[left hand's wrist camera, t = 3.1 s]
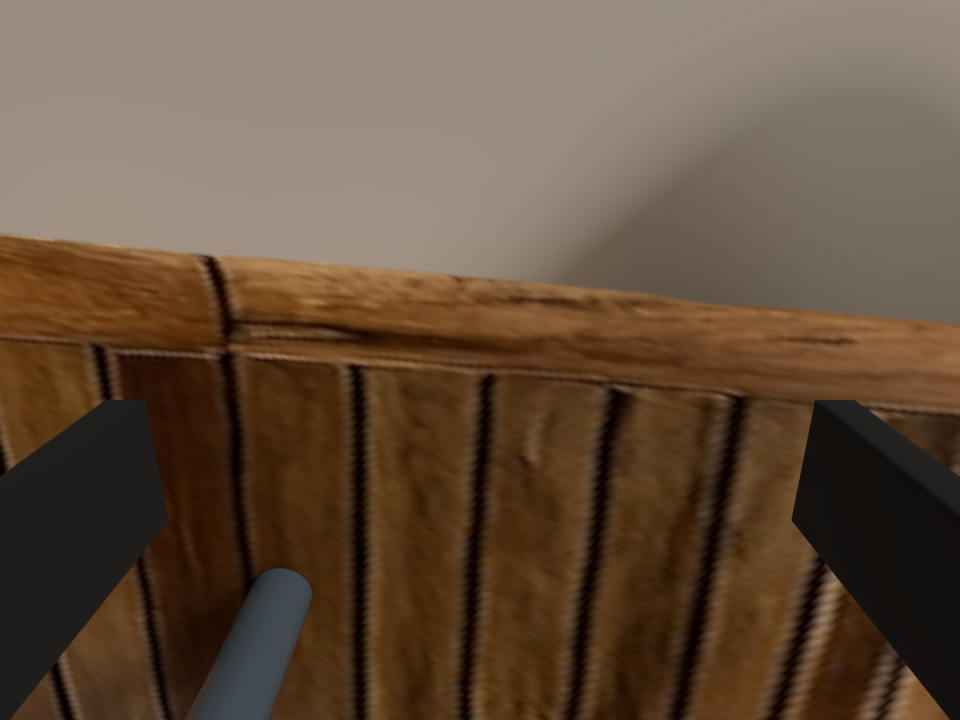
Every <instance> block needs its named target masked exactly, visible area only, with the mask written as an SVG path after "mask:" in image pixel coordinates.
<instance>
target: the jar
mask: <svg viewBox="0 0 960 720" xmlns="http://www.w3.org/2000/svg"><path fill="white" fill-rule="evenodd" d="M311 601H312V589H311V587H310V585H309V583H308V582H307V580H306V579H305V578H304V577H303V576H301V575H300V574H298V573H297V572H295V571H292V570H289V569H284V568H275V569H270V570H267V571H265V572H263V573H261V574H260V575H259V576H258V577H257V578H256V579H255V581H254V583H253V585H252V587H251V589H250V591H249V593H248V595H247V597H246V599H245V601H244V603H243V605H242V607H241V609H240V611H239V613H238V615H237V617H236V619H235V621H234V623H233V625H232V627H231V629H230V631H229V633H228V635H227V637H226V639H225V641H224V643H223V645H222V647H221V649H220V651H219V653H218V655H217V657H216V659H215V661H214V663H213V665H212V667H211V669H210V671H209V673H208V675H207V677H206V679H205V681H204V683H203V685H202V687H201V689H200V691H199V693H198V695H197V697H196V699H195V701H194V703H193V705H192V707H191V709H190V711H189V713H188V715H187V717H186V719H185V720H269V719H270V716H271V713H272V711H273V708H274V705H275V702H276V699H277V697H278V694H279V691H280V688H281V685H282V683H283V680H284V677H285V674H286V671H287V669H288V666H289V663H290V660H291V657H292V655H293V652H294V649H295V646H296V643H297V641H298V638H299V635H300V632H301V629H302V627H303V624H304V621H305V618H306V615H307V613H308V610H309V607H310V604H311Z"/></svg>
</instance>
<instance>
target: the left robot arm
mask: <svg viewBox="0 0 960 720" xmlns="http://www.w3.org/2000/svg"><path fill="white" fill-rule="evenodd" d="M167 522H168V515H167V510H166V505H165V500H164V495H163V490H162V485H161V480H160V474H159V469H158V464H157V459H156V454H155V449H154V444H153V439H152V434H151V429H150V424H149V419H148V414H147V409H146V404H145V400H105V401H104V402H102V403H101V404H100V405H98V406H97V407H96V408H94V409H93V410H91V411H90V412H89V413H87V414H86V415H84V416H83V417H82V418H80V419H79V420H78V421H76V422H75V423H73V424H72V425H71V426H69V427H68V428H67V429H65V430H64V431H62V432H61V433H60V434H58V435H57V436H55V437H54V438H53V439H51V440H50V441H49V442H47V443H46V444H44V445H43V446H42V447H40V448H39V449H38V450H36V451H35V452H33V453H32V454H31V455H29V456H28V457H26V458H25V459H24V460H22V461H21V462H20V463H18V464H17V465H15V466H14V467H13V468H11V469H10V470H9V471H7V472H6V473H4V474H3V475H2V476H0V720H10V719H11V718H12V716H13V715H14V714H15V712H16V711H17V710H18V709H19V707H20V706H21V705H22V704H23V702H24V701H25V700H26V699H27V697H28V696H29V695H30V694H31V692H32V691H33V690H34V689H35V687H36V686H37V685H38V684H39V682H40V681H41V680H42V679H43V677H44V676H45V675H46V674H47V672H48V671H49V670H50V669H51V667H52V666H53V665H54V664H55V662H56V661H57V660H58V658H59V657H60V656H61V655H62V653H63V652H64V651H65V650H66V648H67V647H68V646H69V645H70V643H71V642H72V641H73V640H74V638H75V637H76V636H77V635H78V633H79V632H80V631H81V630H82V628H83V627H84V626H85V625H86V623H87V622H88V621H89V620H90V618H91V617H92V616H93V615H94V613H95V612H96V611H97V609H98V608H99V607H100V606H101V604H102V603H103V602H104V601H105V599H106V598H107V597H108V596H109V594H110V593H111V592H112V591H113V589H114V588H115V587H116V586H117V584H118V583H119V582H120V581H121V579H122V578H123V577H124V576H125V574H126V573H127V572H128V571H129V569H130V568H131V567H132V566H133V564H134V563H135V562H136V561H137V559H138V558H139V557H140V555H141V554H142V553H143V552H144V550H145V549H146V548H147V547H148V545H149V544H150V543H151V542H152V540H153V539H154V538H155V537H156V535H157V534H158V533H159V532H160V530H161V529H162V528H163V527H164V525H165V524H166V523H167ZM792 522H793V523H794V524H795V525H796V527H797V528H798V529H799V530H800V532H801V533H802V534H803V535H804V537H805V538H806V539H807V540H808V542H809V543H810V544H811V545H812V547H813V548H814V549H815V550H816V552H817V553H818V554H819V555H820V557H821V558H822V559H823V561H824V562H825V563H826V564H827V566H828V567H829V568H830V569H831V571H832V572H833V573H834V574H835V576H836V577H837V578H838V579H839V581H840V582H841V583H842V584H843V586H844V587H845V588H846V589H847V591H848V592H849V593H850V594H851V596H852V597H853V598H854V599H855V601H856V602H857V603H858V604H859V606H860V607H861V608H862V610H863V611H864V612H865V613H866V615H867V616H868V617H869V618H870V620H871V621H872V622H873V623H874V625H875V626H876V627H877V628H878V630H879V631H880V632H881V633H882V635H883V636H884V637H885V638H886V640H887V641H888V642H889V643H890V645H891V646H892V647H893V648H894V650H895V651H896V652H897V653H898V655H899V656H900V657H901V658H902V660H903V661H904V662H905V664H906V665H907V666H908V667H909V669H910V670H911V671H912V672H913V674H914V675H915V676H916V677H917V679H918V680H919V681H920V682H921V684H922V685H923V686H924V687H925V689H926V690H927V691H928V692H929V694H930V695H931V696H932V697H933V699H934V700H935V701H936V702H937V704H938V705H939V706H940V707H941V709H942V710H943V711H944V712H945V714H946V715H947V716H948V718H949V719H950V720H960V476H958V475H957V474H956V473H954V472H953V471H951V470H950V469H949V468H947V467H946V466H945V465H943V464H942V463H940V462H939V461H938V460H936V459H935V458H934V457H932V456H931V455H929V454H928V453H927V452H925V451H924V450H922V449H921V448H920V447H918V446H917V445H916V444H914V443H913V442H911V441H910V440H909V439H907V438H906V437H905V436H903V435H902V434H900V433H899V432H898V431H896V430H895V429H893V428H892V427H891V426H889V425H888V424H887V423H885V422H884V421H882V420H881V419H880V418H878V417H877V416H876V415H874V414H873V413H871V412H870V411H869V410H867V409H866V408H864V407H863V406H862V405H860V404H859V403H858V402H856V401H855V400H815V404H814V409H813V414H812V419H811V424H810V429H809V434H808V439H807V444H806V449H805V454H804V459H803V464H802V469H801V474H800V480H799V485H798V490H797V495H796V500H795V505H794V510H793V515H792Z"/></svg>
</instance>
